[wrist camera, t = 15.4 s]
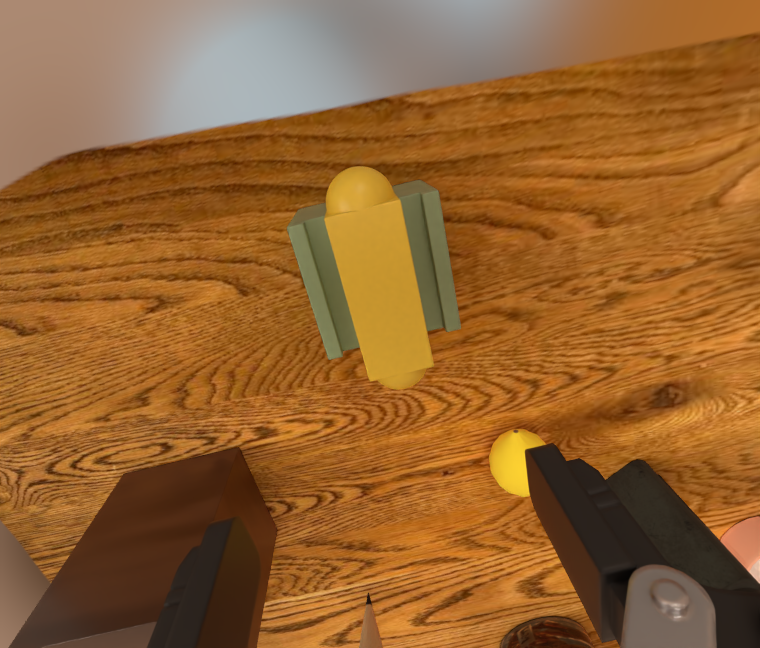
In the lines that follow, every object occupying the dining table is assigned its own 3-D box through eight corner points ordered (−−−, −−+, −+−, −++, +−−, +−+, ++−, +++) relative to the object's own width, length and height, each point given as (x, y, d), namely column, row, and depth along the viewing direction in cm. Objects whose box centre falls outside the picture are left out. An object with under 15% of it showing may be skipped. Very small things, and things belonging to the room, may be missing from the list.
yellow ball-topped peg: (317, 173, 24) (312, 179, 21) (385, 156, 24) (392, 159, 21) (373, 376, 30) (376, 407, 26) (428, 363, 30) (439, 393, 26)
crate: (123, 473, 39) (2, 655, 25) (239, 446, 39) (179, 616, 25) (173, 553, 43) (94, 745, 30) (277, 530, 43) (245, 712, 29)
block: (298, 209, 31) (286, 227, 24) (419, 179, 30) (438, 190, 24) (331, 320, 34) (328, 360, 28) (440, 294, 34) (461, 329, 28)
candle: (664, 480, 44) (1004, 846, 21) (624, 508, 45) (903, 882, 23) (639, 455, 43) (977, 824, 20) (597, 485, 44) (870, 864, 21)
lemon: (539, 463, 42) (564, 506, 37) (485, 474, 42) (504, 519, 37) (534, 406, 39) (561, 444, 34) (477, 418, 39) (496, 459, 34)
